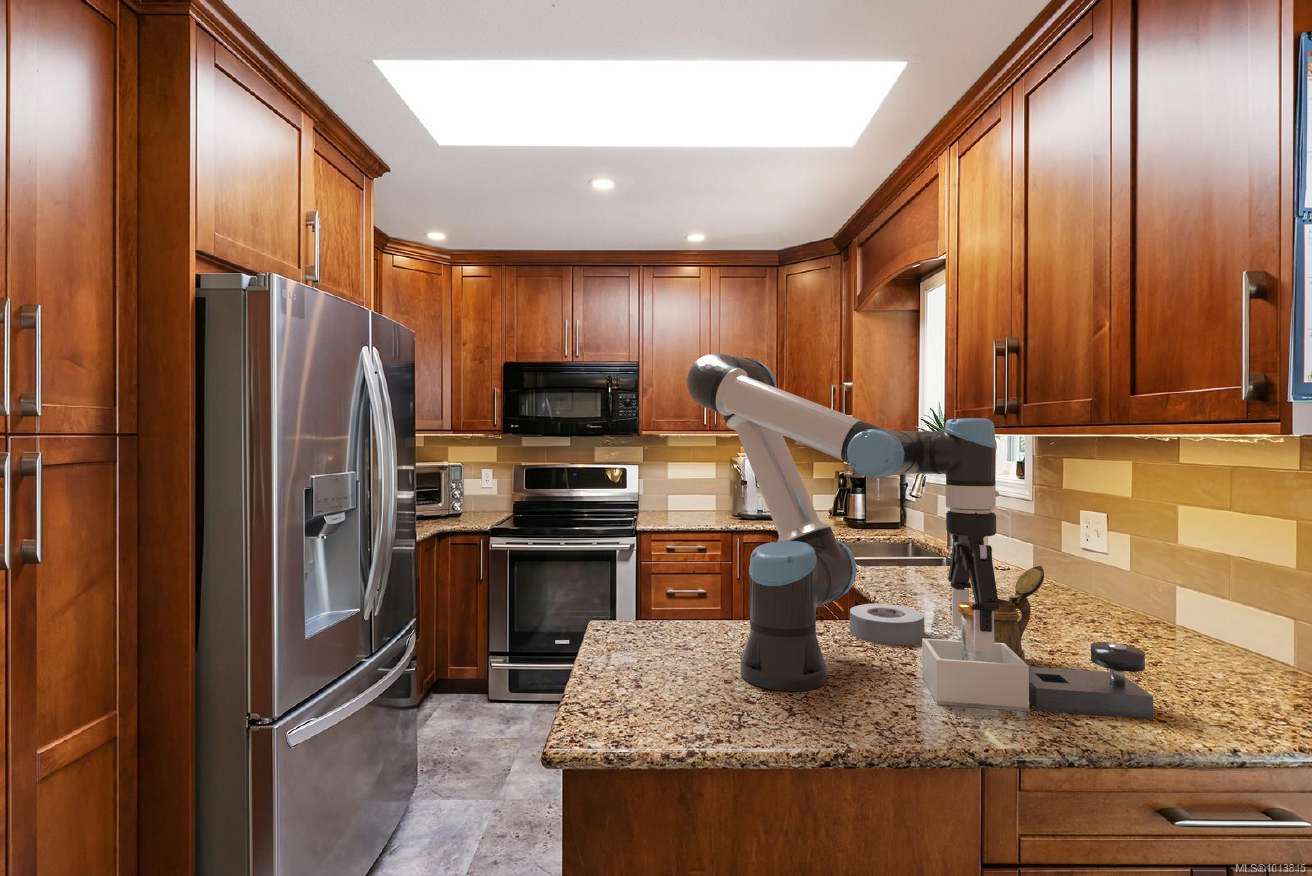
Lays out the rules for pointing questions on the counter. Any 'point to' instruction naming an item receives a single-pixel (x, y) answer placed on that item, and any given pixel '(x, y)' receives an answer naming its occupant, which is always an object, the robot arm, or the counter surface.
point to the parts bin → (975, 676)
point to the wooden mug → (1007, 616)
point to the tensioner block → (1094, 685)
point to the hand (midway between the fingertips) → (971, 638)
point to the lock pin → (967, 632)
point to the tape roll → (887, 624)
